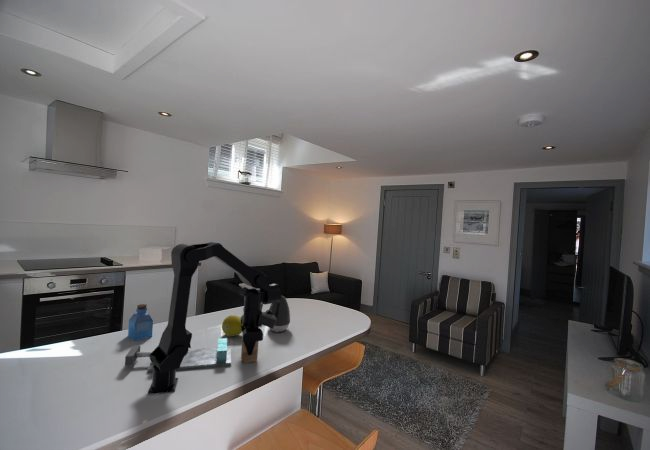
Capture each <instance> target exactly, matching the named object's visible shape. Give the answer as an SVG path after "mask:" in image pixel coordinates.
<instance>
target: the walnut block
mask: <svg viewBox="0 0 650 450" xmlns="http://www.w3.org/2000/svg"><path fill="white" fill-rule="evenodd" d="M240 353H241V354H240V358H241V359H242V360H241V363H242V362H245V363H252V362H251V361H257V362H258V353H259V341H256V343H255V346H254V349H253V352H252V355H248V353H247V350H246V347H245V344H244V341H243V338H242V339H241V352H240Z"/></svg>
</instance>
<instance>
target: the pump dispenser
mask: <svg viewBox="0 0 650 450" xmlns="http://www.w3.org/2000/svg"><path fill="white" fill-rule="evenodd" d="M288 303H289V302H288V300H287V298H286V297H285V296H283V295H282V297H281V300H280V301H279V302H276V303H271V304H270V306H269V308H268V310H271V311H272V315H274V316H275V317H276V319H277V321H276V323H275V326H274V328H273V329H272V328H270V327H268V328H269V330H270V331H272V332H274V333H280V332H284V331H286V330H287V329H288V327H289V325H290V324H291V313H290V306H289V304H288Z"/></svg>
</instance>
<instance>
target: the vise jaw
mask: <svg viewBox="0 0 650 450" xmlns="http://www.w3.org/2000/svg"><path fill="white" fill-rule="evenodd" d="M153 351H154V350H153ZM153 351H151V350H149V351H141V344H133V345H132V346H131V347H130V350H129V351H128V352H127V354H126V355H125V359H124V360H125V361H124V367H133V366H134V363H135V362H136V361H137V360H138V359H139V358H150V357H149V355H150V354H151V353H152V352H153Z"/></svg>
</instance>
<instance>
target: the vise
mask: <svg viewBox="0 0 650 450" xmlns="http://www.w3.org/2000/svg"><path fill="white" fill-rule="evenodd" d="M231 347H232V346H228V338H227V337H225V338H217V347H211V348H210V347H209V348H208V347H207V348H195V349H193V348H189V349H188V353H187V355H186V356H184V358H183V360H182V363H181V365H180V367H179V368H178V369H176V371H180V370H181V371H183V370H184V371H185V370H194V369H206V368H209V369H210V368H217V367H219V368H221V366H222V367H231V366H232V351H231V350H232V349H231ZM153 366H154V364H153V362H151V361H150V364H149V366H148V367H147V373H148V374H149V373H153Z"/></svg>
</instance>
